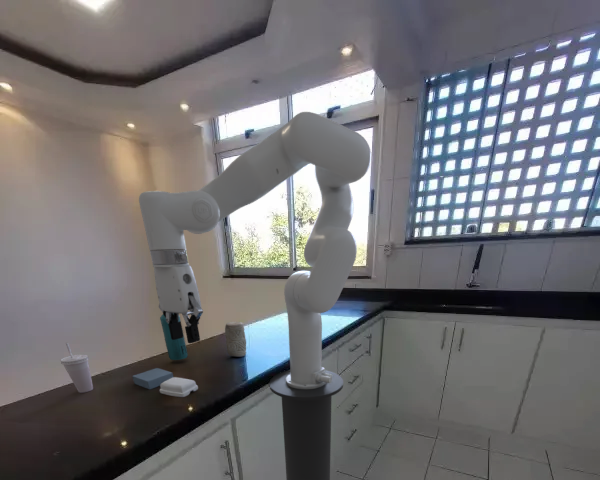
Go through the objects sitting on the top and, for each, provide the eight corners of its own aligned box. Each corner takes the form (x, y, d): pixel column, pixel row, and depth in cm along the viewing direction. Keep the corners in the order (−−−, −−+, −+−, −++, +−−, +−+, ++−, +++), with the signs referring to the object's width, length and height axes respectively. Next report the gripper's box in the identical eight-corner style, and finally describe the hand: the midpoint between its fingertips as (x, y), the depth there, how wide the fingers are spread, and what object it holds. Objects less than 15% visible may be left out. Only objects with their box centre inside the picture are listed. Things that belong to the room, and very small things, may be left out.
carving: (251, 354, 115) (247, 321, 109) (237, 360, 109) (233, 326, 104) (238, 352, 118) (234, 320, 112) (224, 357, 112) (219, 324, 107)
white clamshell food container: (157, 393, 85) (155, 383, 84) (175, 383, 91) (173, 374, 90) (183, 397, 82) (181, 387, 81) (200, 388, 88) (198, 378, 86)
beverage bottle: (185, 364, 107) (173, 304, 98) (166, 364, 107) (152, 304, 98) (191, 358, 112) (180, 301, 104) (173, 358, 113) (160, 301, 104)
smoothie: (66, 394, 86) (47, 345, 80) (84, 385, 92) (67, 338, 86) (87, 395, 85) (69, 345, 79) (103, 385, 91) (88, 339, 85)
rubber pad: (174, 380, 94) (172, 372, 92) (149, 389, 88) (147, 381, 87) (158, 375, 98) (156, 367, 97) (134, 383, 92) (132, 376, 91)
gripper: (209, 258, 66) (221, 341, 74) (162, 258, 75) (177, 332, 83) (179, 259, 61) (196, 349, 69) (132, 260, 70) (151, 339, 78)
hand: (185, 339), depth 76 cm, fingers open, 5 cm apart
